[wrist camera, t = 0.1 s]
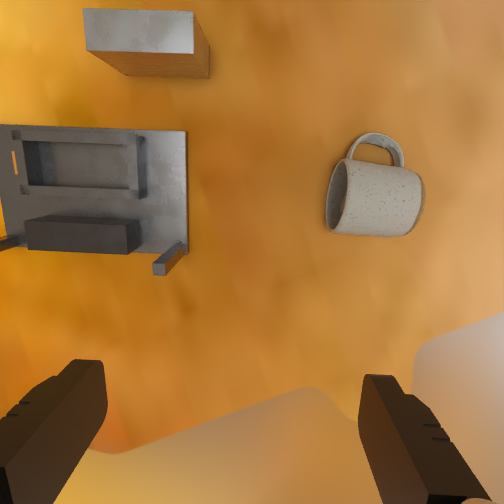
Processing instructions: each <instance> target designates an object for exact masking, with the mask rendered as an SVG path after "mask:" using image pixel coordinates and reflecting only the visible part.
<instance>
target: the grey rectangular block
mask: <svg viewBox="0 0 504 504" xmlns="http://www.w3.org/2000/svg"><path fill="white" fill-rule="evenodd" d="M83 16H84V27H85V38H86V49H87V51H89V52H90V53H92V54H93V55H95V56H96V57H98V58H100V59H101V60H103V61H104V62H106V63H107V64H109V65H110V66H112V67H114V68H115V69H117V70H118V71H120V72H121V73H123V74H125V75H126V76H146V77H175V78H204V79H210V46H209V44H208V42H207V40H206V38H205V36H204V33H203V31H202V29H201V27H200V25H199V23H198V21H197V18H196V16H195V14H194V12H193V11H163V10H128V9H94V8H83Z"/></svg>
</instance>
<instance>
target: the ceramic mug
mask: <svg viewBox="0 0 504 504" xmlns="http://www.w3.org/2000/svg"><path fill="white" fill-rule="evenodd" d="M360 143H370V144H375V145H379V146H381V147H382V148H387V149H388V150H389V151H390V153H391V154H392V156H393V160H394V166H388V165H381V164H376V163H370V162H365V161H359V160H354V159H352V155H353V153H354V150H355V148H356V147H357V145H358V144H360ZM403 167H404V156H403V152H402V149H401V147H400V146H399V145H398V143H397V142H396V141H395V140H394V139H392V138H391V137H389V136H386V135H384V134H380V133H367V134H364V135H362V136H361V137H359V138H358V139H357V140H356V141H355V142H354V144H353V145H352V146H351V147H350V149H349V151H348V153H347V155H346V158H343V159H341V160H340V161H339V162H338V163H337V165H336V167H335V169H334V171H333V174H332V176H331V179H330V184H329V188H328V192H327V199H326V222H327V226H328V229H329V230H330V231H331V232H332V233H338V234H352V235H364V236H378V237H400V236H404V235H406V234H408V233H409V232H411V231H412V230H413V229H414V228H415V226H416V225H417V223H418V222H419V220H420V218H421V215H422V213H423V210H424V205H425V186H424V183H423V181H422V178H421V177H420V176H419V175H418V174H417V173H416V172H414V171H412V170H409V169H406V168H403Z"/></svg>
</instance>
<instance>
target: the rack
mask: <svg viewBox="0 0 504 504" xmlns="http://www.w3.org/2000/svg"><path fill="white" fill-rule="evenodd" d="M0 199H1V204H2V210H3V216H4V222H5V227H6V233H7V236H4V237H0V252H1V251H4V250H7V249H10V248H13V247H28V250H41V251H62V252H82V253H103V254H123V255H128V254H130V253H131V252H137V253H157V254H162V255H161V256H160V257H159V258H158V259H157V260H156V261H155V262H153V263H152V266H153V275H158V276H166V275H167V273H168V272H169V271H170V270H171V269H172V268H173V267H174V266H175V264H176V263H177V262H178V261H179V260H180V259H181V258H182V256H183V255H187V254H188V253H189V223H188V156H187V132H185V131H159V130H133V129H108V128H82V127H56V126H30V125H5V124H0Z"/></svg>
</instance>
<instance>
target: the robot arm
mask: <svg viewBox="0 0 504 504" xmlns="http://www.w3.org/2000/svg"><path fill="white" fill-rule="evenodd" d="M107 407H108V400H107V391H106V383H105V374H104V366H103V363H102V362H101V361H100V360H81V359H75V360H73V361H71V362H70V363H69V364H68V365H67V366H66V367H65V368H64V369H63V370H62V371H61V372H60V373H59V374H58V375H57V376H52V377H50V378H48V379H47V380H45V381H43V382H42V383H40V384H38V385H37V386H35V387H34V388H32V389H31V390H30V391H29V392H28V393H27V394H26V395H25V396H24V397H23V398H22V399H21V400H20V401H19V404H16V405H15V406H14V407H13V408H12V409H11V410H10V411H9V412H8V413H7V415H6V417H3V418H2V419H1V420H0V504H53V503H54V501H55V500H56V498H57V496H58V495H59V493H60V492H61V490H62V488H63V487H64V485H65V483H66V482H67V480H68V479H69V477H70V475H71V474H72V472H73V471H74V469H75V467H76V466H77V464H78V463H79V461H80V459H81V458H82V456H83V455H84V453H85V451H86V450H87V448H88V447H89V445H90V443H91V442H92V440H93V439H94V437H95V435H96V434H97V432H98V431H99V429H100V427H101V426H102V424H103V422H104V419H105V416H106V413H107ZM358 428H359V435H360V439H361V442H362V444H363V448H364V450H365V453H366V456H367V459H368V462H369V465H370V468H371V470H372V473H373V476H374V479H375V482H376V485H377V488H378V491H379V494H380V496H381V499H382V502H383V504H497V503H495V502H492V500H491V499H490V497H489V496H488V494H487V493H486V491H485V490H484V488H483V487H482V485H481V484H480V483H479V481H478V479H477V478H476V477H475V475H474V474H473V472H472V471H471V469H470V468H469V466H468V465H467V463H466V462H465V460H464V459H463V457H462V456H461V454H460V453H459V451H458V450H457V448H456V447H455V445H454V444H453V443H452V442H450V438H449V436H448V435H447V434H446V432H445V431H444V429H443V428H441V425H440V423H439V422H438V420H437V419H436V417H435V416H434V414H433V413H432V411H431V410H430V408H428V407H427V406H426V405H425V404H424V403H422V402H421V401H420V400H419V399H418V398H416V397H415V396H414V395H410V394H404V392H403V390H402V389H401V387H400V385H399V384H398V382H397V380H396V379H395V377H394V376H392V375H376V374H366V375H365V377H364V380H363V386H362V393H361V400H360V407H359V414H358Z"/></svg>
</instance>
